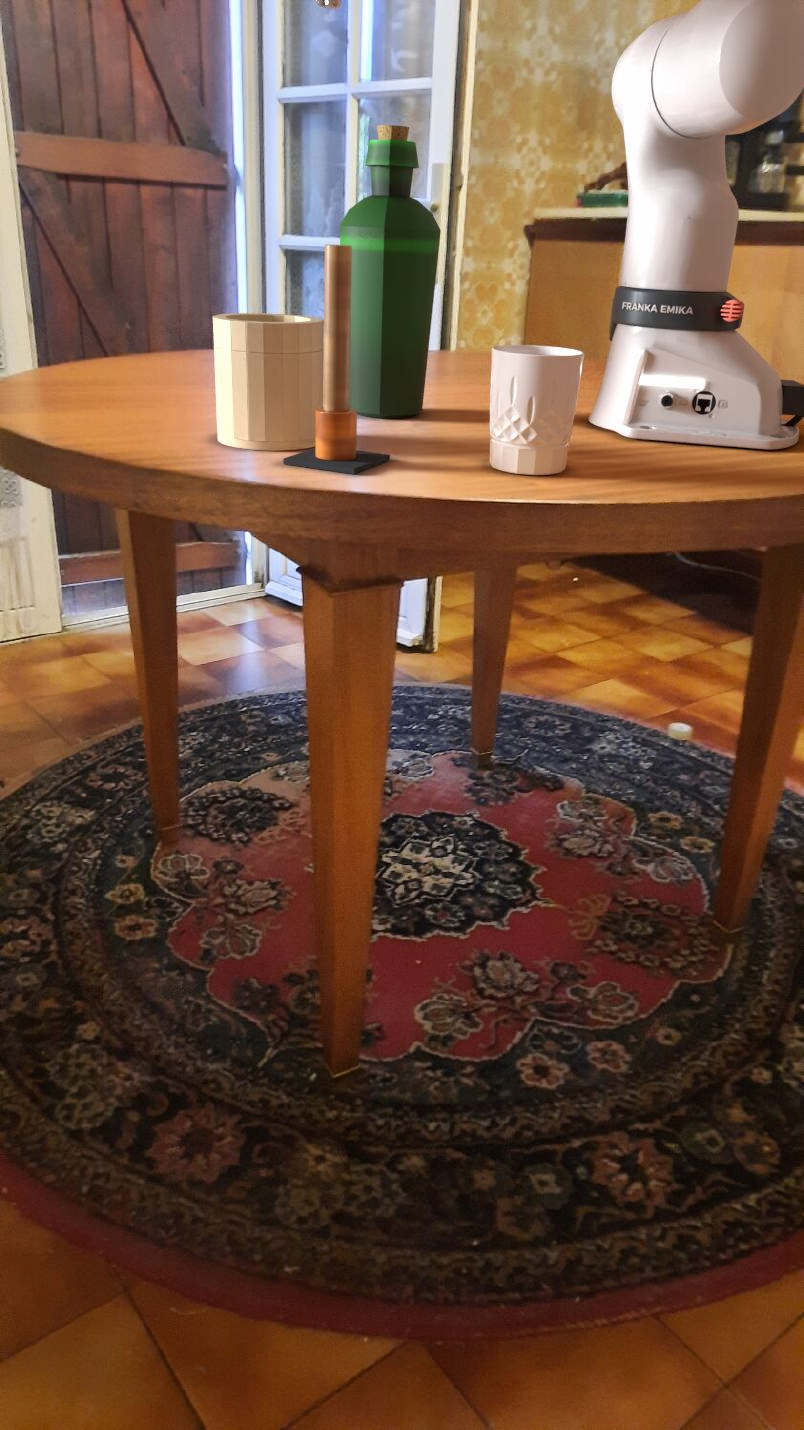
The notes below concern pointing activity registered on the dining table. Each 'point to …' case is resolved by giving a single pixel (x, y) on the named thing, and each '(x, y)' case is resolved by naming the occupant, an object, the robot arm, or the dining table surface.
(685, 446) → the dining table surface
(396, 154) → the bottle
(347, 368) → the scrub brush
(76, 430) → the dining table surface
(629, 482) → the dining table surface
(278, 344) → the jar
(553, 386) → the white cup
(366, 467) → the mat
